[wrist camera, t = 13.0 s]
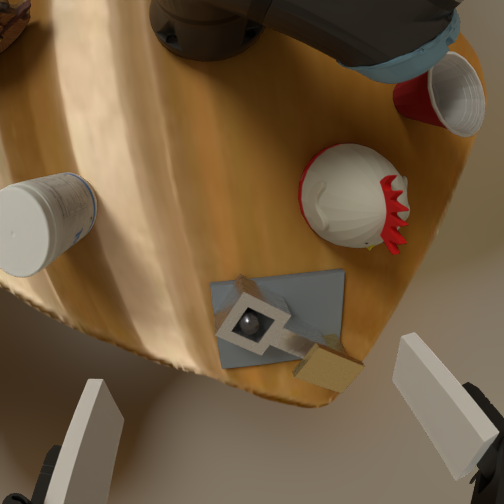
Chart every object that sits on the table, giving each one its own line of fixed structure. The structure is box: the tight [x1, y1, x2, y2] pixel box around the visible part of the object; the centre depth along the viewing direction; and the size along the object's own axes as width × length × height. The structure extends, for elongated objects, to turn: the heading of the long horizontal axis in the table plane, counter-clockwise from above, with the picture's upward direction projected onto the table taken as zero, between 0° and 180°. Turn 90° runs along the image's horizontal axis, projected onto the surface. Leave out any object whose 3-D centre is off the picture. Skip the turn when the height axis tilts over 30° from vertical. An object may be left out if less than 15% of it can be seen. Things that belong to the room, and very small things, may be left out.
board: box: [210, 269, 345, 369], centre depth 46 cm, size 14×19×1 cm
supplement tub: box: [0, 173, 97, 277], centre depth 31 cm, size 10×10×15 cm
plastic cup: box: [393, 51, 485, 138], centre depth 33 cm, size 11×11×12 cm
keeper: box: [292, 334, 365, 393], centre depth 43 cm, size 5×9×9 cm, turn 58°
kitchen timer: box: [298, 143, 410, 255], centre depth 35 cm, size 14×14×15 cm
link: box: [214, 274, 328, 359], centre depth 43 cm, size 15×7×6 cm, turn 58°
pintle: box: [240, 307, 259, 334], centre depth 41 cm, size 2×2×6 cm
